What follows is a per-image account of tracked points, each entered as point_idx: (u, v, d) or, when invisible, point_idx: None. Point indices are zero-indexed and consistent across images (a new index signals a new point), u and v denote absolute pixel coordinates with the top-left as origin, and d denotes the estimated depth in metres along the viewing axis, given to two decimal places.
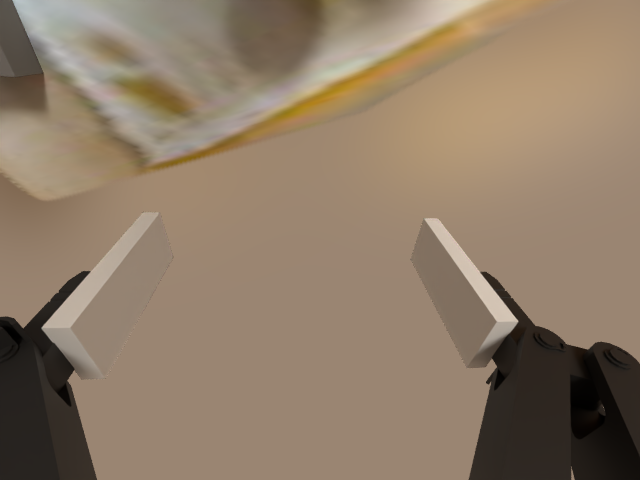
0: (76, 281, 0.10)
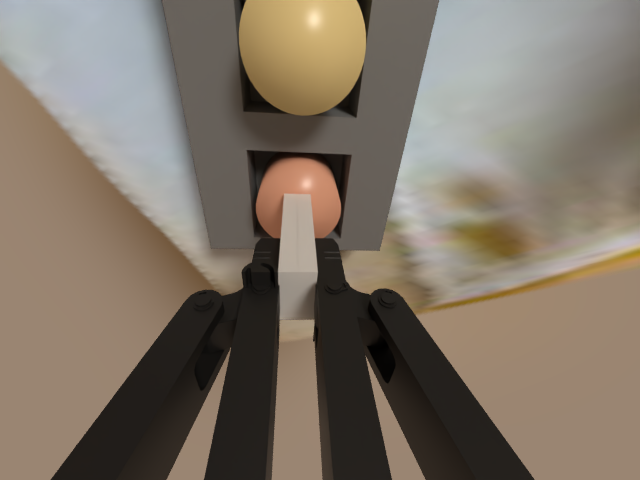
0: (262, 244, 0.13)
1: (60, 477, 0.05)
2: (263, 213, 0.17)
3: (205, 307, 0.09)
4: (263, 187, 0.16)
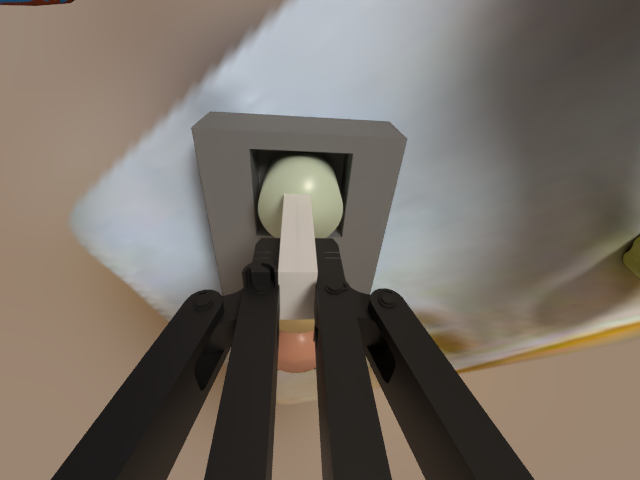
0: (262, 244, 0.13)
1: (59, 478, 0.05)
2: None
3: (205, 307, 0.09)
4: None
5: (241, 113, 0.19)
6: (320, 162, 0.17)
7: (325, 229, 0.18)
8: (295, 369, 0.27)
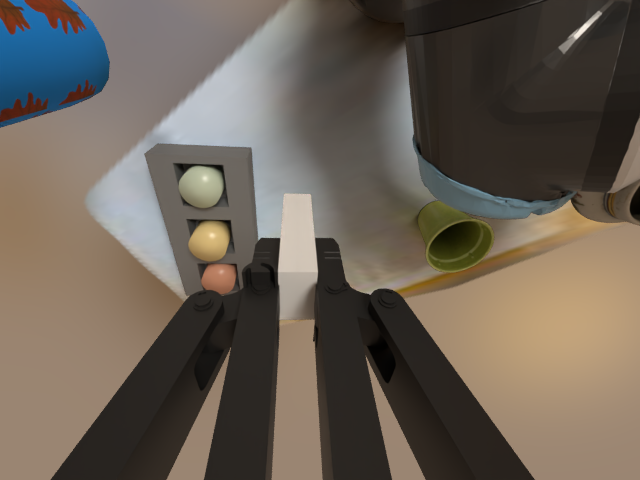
0: (262, 244, 0.13)
1: (59, 478, 0.05)
2: (204, 283, 0.45)
3: (205, 307, 0.09)
4: (203, 276, 0.44)
5: (173, 144, 0.37)
6: (210, 167, 0.36)
7: (214, 199, 0.37)
8: (219, 291, 0.46)
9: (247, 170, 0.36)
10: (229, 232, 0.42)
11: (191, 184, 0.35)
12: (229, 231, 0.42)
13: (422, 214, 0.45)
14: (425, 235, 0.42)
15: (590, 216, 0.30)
